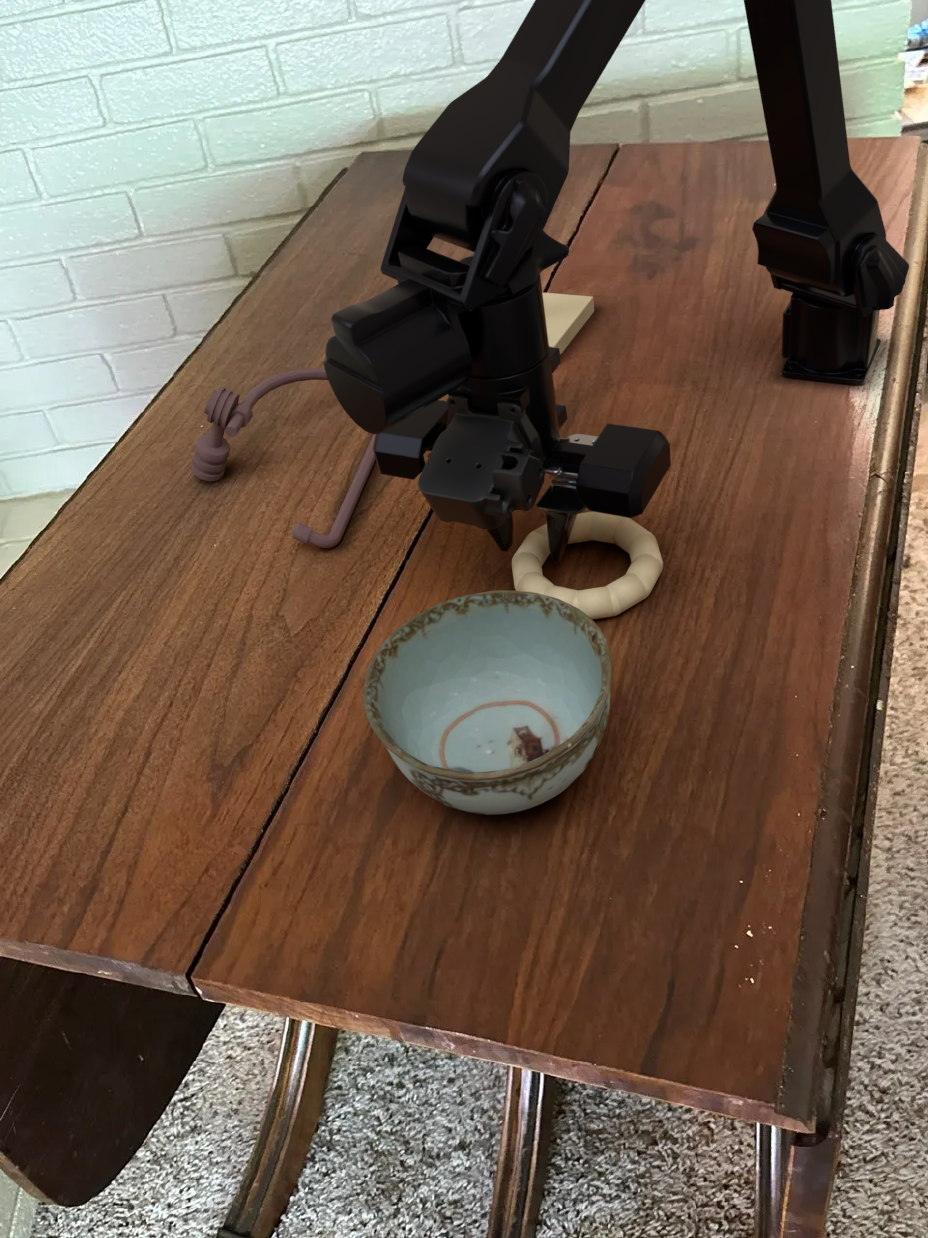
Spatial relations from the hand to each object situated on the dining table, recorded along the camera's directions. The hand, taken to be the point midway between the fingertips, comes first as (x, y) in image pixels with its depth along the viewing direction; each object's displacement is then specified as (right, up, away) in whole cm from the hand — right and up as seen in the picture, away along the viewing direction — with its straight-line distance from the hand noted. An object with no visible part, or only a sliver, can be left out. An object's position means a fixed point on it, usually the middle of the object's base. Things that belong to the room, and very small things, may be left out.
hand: (532, 553), depth 75 cm
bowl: (-2, -13, -12) cm, 18 cm away
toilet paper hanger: (-20, +8, +15) cm, 26 cm away
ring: (+3, -1, -2) cm, 4 cm away
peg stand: (+1, +22, +25) cm, 33 cm away
